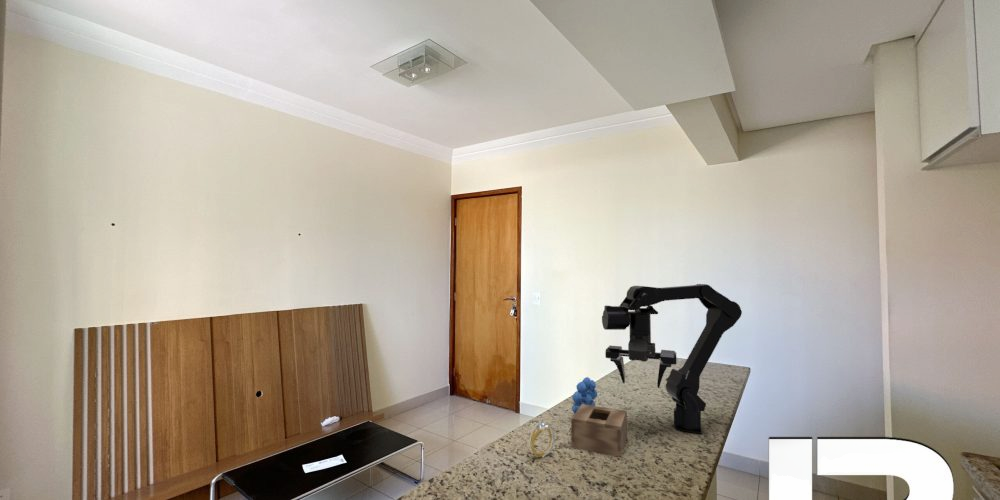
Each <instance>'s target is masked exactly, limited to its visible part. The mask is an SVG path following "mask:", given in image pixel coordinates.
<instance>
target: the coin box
mask: <svg viewBox="0 0 1000 500" xmlns="http://www.w3.org/2000/svg"><path fill="white" fill-rule="evenodd" d="M627 412H628V411H627V410H625V409H617V408H610V407H606V406H605V407H604V406H597V405H595V406H592V405H585V404H582V405H581V406H580V407H579V409H578V410H577V412H576V413H575V414H574V413H573V416H572V417H571V419H570V420H571V422H570V427H571V428H570V431H571V433H570V434H571V435H570V438H571V444H570V445H571V448H574V449H578V450H584V451H588V452H589V451H590V452H594V453H600V454H605V455H610V456H615V457H620V458H621V457H622V455H623V452H624V449H625V446H626V442H627V438H628V413H627ZM597 419H602V420H597ZM604 420H606V421H604Z"/></svg>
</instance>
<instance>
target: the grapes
mask: <svg viewBox="0 0 1000 500" xmlns="http://www.w3.org/2000/svg"><path fill="white" fill-rule="evenodd" d="M596 387H597V384H596V382H595V381H594V380H592V379H591V378H590V377H589V376H587V377H584V378H583V379H582V381H580V382H578V383H577V385H576V387H575V388H576V391H575V392H574V393H573V395H572V396H571V397H572V401H573V402H574V403H573V404H572V406H571V410H572V413H573V415H574V414H575V413H576V412H577V410H578V409H579V407H580V406H581V405H582V404H585V405H592V406H596V403H595V399H597V397H598V392H597V390H596Z"/></svg>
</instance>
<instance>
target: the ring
mask: <svg viewBox="0 0 1000 500" xmlns="http://www.w3.org/2000/svg"><path fill="white" fill-rule="evenodd" d="M547 423H548V422H547V421H545V422H544V423H543V422H542V421H541V420H540V421H538V422H537V423H536V424H535V425H534V427H532V429H531V432H530V435H529V441H528V442H529V443H528V445H529V449H530V451H531V453H532V454H533V455H534V456H536V457H538V458H545V457H546V456H547V455H549V454H550V452H551V451H552V450H553V447H554V446H555V440H556V436H555V430H554V429H553V426H550V425H548V424H547ZM544 430H546V431H547V432H548V435H549V444H548V447H547V448H546V449H545V450H544V451H539V452H537V451H536V449H535V442H536V440H537V438H538V437H539V436H540V434H541V433H542V432H543V431H544Z"/></svg>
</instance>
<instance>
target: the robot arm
mask: <svg viewBox="0 0 1000 500" xmlns="http://www.w3.org/2000/svg"><path fill="white" fill-rule="evenodd" d="M689 299H690V300H692V299H693V300H694V299H698V300H699V302H700V303H701V304H702V306H703V307H705V308H706V309H707V311H706V314H705V315H706V317H705V318H706V319H705V326H704V328H703V330H702V332H701V333H700V335H699V337H698V339H697V340H696V342H695V344H694V346H693V348H692V349H691V351H690V353H689V354H688V357H687V358H686V360H685V362H684V364H683V366H682V367H681V368H679V369H678V370H677V369H675V368H672V369H671V370H670V372H669V375H668V377H667V378H666V379H665V382H666V384H665V390H666V392H667V393H668V395H669V396H670V397H671V400H672V401H673V402H674V403H675V407H674V408H673V425H674V426H675V430H676V431H680V432H687V433H692V434H699V435H700V434H701V435H702V434H703V430H702V414H701V413H702V412H705V409H706V407H707V403H706V402H705V401H704V400H703V398H701V397H700V396H699V395H698V393H699V391H700V383H701V381H700V378H701V375H702V373H703V371H704V369H705V367H706V365H707V364H708V362H709V360H710V359H711V356H712V355H713V353H714V351H715V349H716V347H717V346H718V344H719V342H720V340H721V339H722V336H723V335H724V334H725V332H727V331H728V330H730V329H731V328H733V327H734V325H735V324H736V323H737V322H738V321H739V319H741V317H742V315H743V311H742V310H741V306H740V305H739V303H737V302H736V301H734V300H731V299H729V297H726V296H725V295H723V294H722V293H720V292H718V291H716V290H715V289H714V288H713V287H712V286H711V285H709V284H705V283H704V284H703V283H697V284H692V285H679V286H665V287H655V286H645V285H644V286H643V285H632V286H630V287H629V288H628V289H627V292H626V296H625V298H623V301H621V303H620V304H619V305H617V306H616V305H613V306H612V305H604V310H603V312H602V315H601V324H602V327H603V329H604V330H606V331H607V330H609V331H615V330H616V331H618V330H619V331H620V330H623V331H624V330H627V328H629V341H628V346H627V347H628V349H623V347H622V346H619V345H609V346H607V348H606V349H605V352H604V354H605V358H606V359H609V360H610V362H613V363H614V364H615V366H616V368H617V370H618V372H619V375H620V378H621V380H622V384H625V383H626V372H625V361H624V357H626V358H628V360H630V361H641V362H647V361H648V360H660V362H659V365H658V366H659V367H658V376H657V385H656V386H657V388H658V389H659V388H660V386H661V382H662V380H663V377H664V374H665V373H666V370H667V368H671V367H672V365H675V366H676V365H677V361H678V360H677V352H676V351H675V350H670V349H668V350H667V349H661V350H660V352H658V351H657V352H656V343H655V342H652V337H651V336H652V335H651V334H652V333H651V332H652V331H651V329H652V327H651V326H652V325H651V323H652V322H651V315H658V314H659V312H658V311H657V310H656V309H655V308H654V307H653V305H656V304H659V303H662V302H666V301H667V302H668V301H678V300H689Z"/></svg>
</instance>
